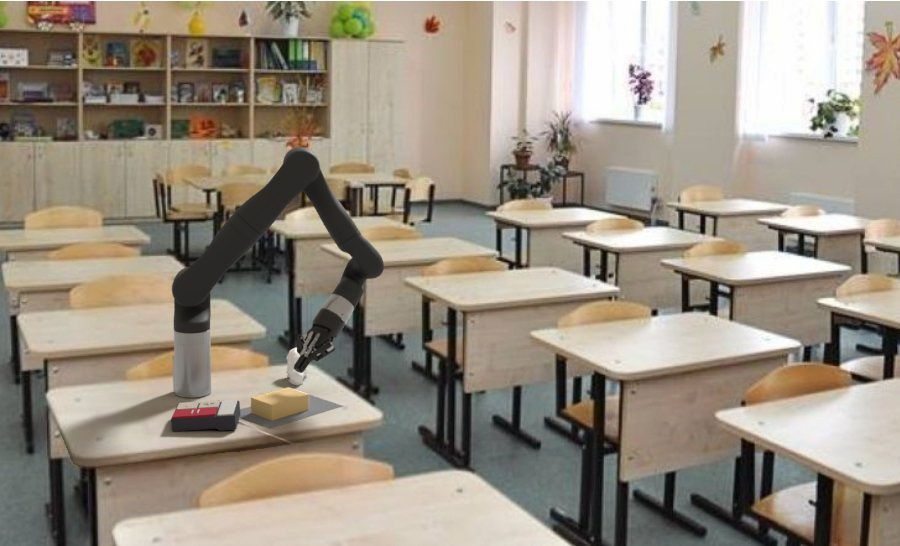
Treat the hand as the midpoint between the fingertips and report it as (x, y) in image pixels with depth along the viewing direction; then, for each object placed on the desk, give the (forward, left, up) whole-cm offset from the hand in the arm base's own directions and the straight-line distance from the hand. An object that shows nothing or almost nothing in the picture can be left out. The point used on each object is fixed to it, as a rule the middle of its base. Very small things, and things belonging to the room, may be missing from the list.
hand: (297, 370), depth 268 cm
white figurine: (-17, +15, -10) cm, 25 cm away
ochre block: (0, +1, -7) cm, 7 cm away
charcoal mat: (0, -3, -10) cm, 10 cm away
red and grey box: (-6, -23, -10) cm, 26 cm away
